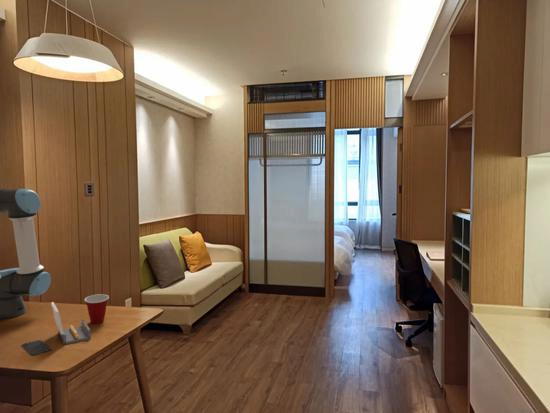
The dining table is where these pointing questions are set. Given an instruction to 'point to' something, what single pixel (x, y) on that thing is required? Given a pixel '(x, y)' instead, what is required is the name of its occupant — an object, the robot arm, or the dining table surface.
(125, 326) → the dining table surface
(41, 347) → the smartphone
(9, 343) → the dining table surface
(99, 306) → the plastic cup
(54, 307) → the block
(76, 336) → the cable duct
